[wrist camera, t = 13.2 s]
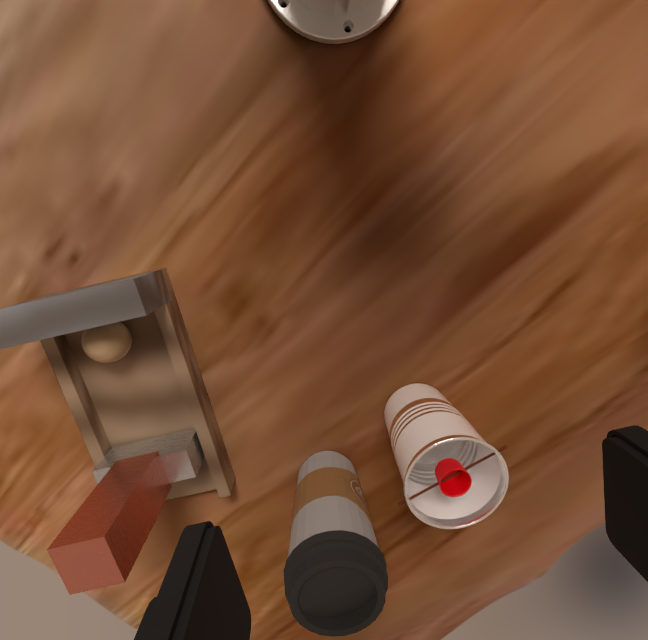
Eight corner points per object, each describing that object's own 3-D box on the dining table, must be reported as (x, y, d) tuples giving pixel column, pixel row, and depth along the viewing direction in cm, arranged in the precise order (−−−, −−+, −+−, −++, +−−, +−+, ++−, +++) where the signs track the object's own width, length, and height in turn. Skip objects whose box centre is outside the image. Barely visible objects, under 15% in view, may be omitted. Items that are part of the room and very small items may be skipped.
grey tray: (44, 295, 37) (-16, 313, 30) (165, 267, 37) (133, 278, 30) (130, 501, 43) (97, 555, 37) (235, 478, 43) (221, 527, 36)
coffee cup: (374, 488, 45) (408, 618, 30) (308, 515, 45) (309, 655, 31) (346, 429, 42) (368, 537, 28) (277, 457, 43) (262, 579, 28)
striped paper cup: (393, 462, 44) (425, 550, 32) (356, 404, 42) (376, 476, 30) (472, 419, 43) (534, 494, 31) (438, 358, 41) (490, 413, 29)
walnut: (95, 325, 38) (67, 322, 34) (135, 316, 38) (112, 312, 34) (103, 366, 37) (75, 368, 33) (143, 356, 37) (120, 357, 33)
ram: (110, 442, 40) (11, 557, 26) (196, 423, 40) (140, 528, 26) (124, 475, 41) (35, 602, 27) (207, 456, 41) (159, 574, 27)
